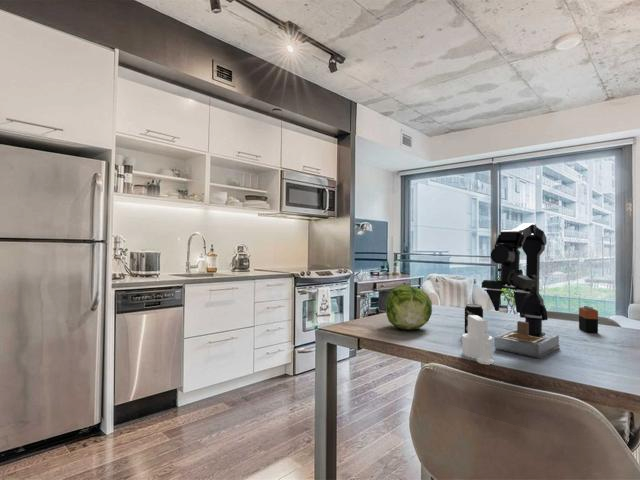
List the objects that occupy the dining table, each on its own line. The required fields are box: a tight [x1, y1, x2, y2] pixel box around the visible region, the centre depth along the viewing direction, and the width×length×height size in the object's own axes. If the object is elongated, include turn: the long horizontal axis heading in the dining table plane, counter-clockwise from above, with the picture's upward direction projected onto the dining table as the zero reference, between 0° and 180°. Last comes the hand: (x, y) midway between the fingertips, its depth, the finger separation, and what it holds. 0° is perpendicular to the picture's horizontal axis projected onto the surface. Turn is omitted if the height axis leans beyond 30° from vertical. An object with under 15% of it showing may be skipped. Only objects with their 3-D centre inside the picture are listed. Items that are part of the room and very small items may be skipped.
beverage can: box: [464, 303, 484, 334], centre depth 145 cm, size 7×7×12 cm
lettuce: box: [384, 284, 433, 331], centre depth 156 cm, size 19×23×18 cm
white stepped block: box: [461, 315, 493, 359], centre depth 121 cm, size 9×9×12 cm
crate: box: [503, 320, 545, 344], centre depth 126 cm, size 8×10×8 cm
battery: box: [578, 305, 599, 334], centre depth 153 cm, size 4×7×10 cm, turn 168°
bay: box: [493, 327, 560, 359], centre depth 128 cm, size 19×14×4 cm
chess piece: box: [476, 328, 495, 366], centre depth 114 cm, size 5×5×10 cm
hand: (507, 311), depth 128 cm, fingers open, 9 cm apart
